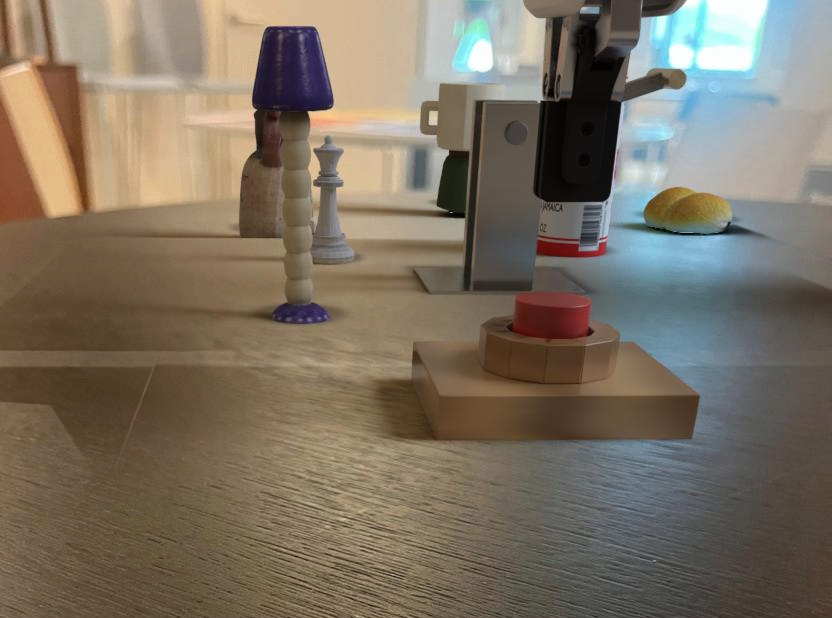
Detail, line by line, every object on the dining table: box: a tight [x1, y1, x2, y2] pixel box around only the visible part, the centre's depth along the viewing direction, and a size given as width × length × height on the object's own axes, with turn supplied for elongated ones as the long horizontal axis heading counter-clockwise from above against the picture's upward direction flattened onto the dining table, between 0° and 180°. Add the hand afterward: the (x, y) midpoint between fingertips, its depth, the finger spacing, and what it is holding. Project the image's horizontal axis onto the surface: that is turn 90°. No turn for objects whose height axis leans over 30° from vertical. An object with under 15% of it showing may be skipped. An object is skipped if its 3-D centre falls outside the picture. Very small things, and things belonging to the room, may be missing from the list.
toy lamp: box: [251, 25, 335, 325], centre depth 60 cm, size 5×5×17 cm
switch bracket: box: [414, 99, 586, 296], centre depth 73 cm, size 11×9×13 cm
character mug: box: [419, 82, 506, 213], centre depth 112 cm, size 11×7×13 cm, turn 76°
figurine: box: [238, 109, 317, 240], centre depth 93 cm, size 7×7×12 cm
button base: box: [410, 314, 701, 442], centre depth 50 cm, size 12×10×4 cm
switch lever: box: [620, 67, 687, 103], centre depth 70 cm, size 13×5×2 cm, turn 94°
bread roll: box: [643, 186, 733, 233], centre depth 107 cm, size 8×9×4 cm
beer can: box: [536, 71, 629, 258], centre depth 84 cm, size 6×6×16 cm
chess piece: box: [310, 134, 356, 265], centre depth 80 cm, size 4×4×10 cm
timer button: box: [512, 291, 592, 339], centre depth 49 cm, size 4×4×2 cm
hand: (570, 198), depth 47 cm, fingers closed
